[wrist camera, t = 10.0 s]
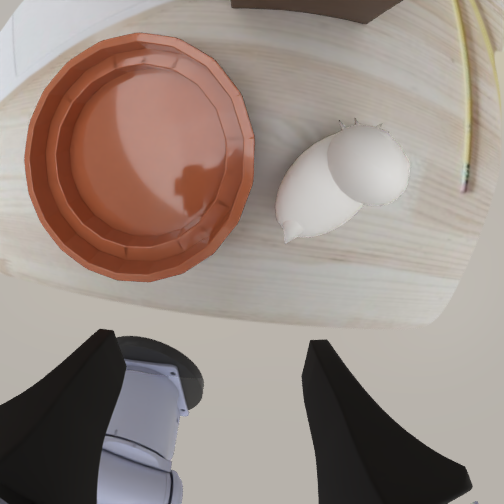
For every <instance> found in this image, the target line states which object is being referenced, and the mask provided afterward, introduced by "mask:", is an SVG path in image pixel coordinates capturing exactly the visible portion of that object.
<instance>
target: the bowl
mask: <svg viewBox="0 0 504 504" xmlns="http://www.w3.org/2000/svg"><path fill="white" fill-rule="evenodd" d="M254 150H255V138H254V133H253V129H252V126H251V123H250V119H249V116H248V113H247V110H246V106H245V103H244V100H243V97H242V95H241V93H240V91H239V90H238V89H237V87H236V86H235V85H234V83H233V82H232V81H231V79H230V78H229V77H228V75H227V74H226V73H225V72H224V70H223V69H222V68H221V67H220V65H219V64H218V63H217V62H216V60H214V59H213V58H212V57H210V56H209V55H207V54H205V53H204V52H202V51H200V50H199V49H197V48H195V47H193V46H192V45H190V44H188V43H186V42H185V41H183V40H181V39H178V38H175V37H169V36H162V35H155V34H148V33H133V34H128V35H124V36H119V37H115V38H111V39H107V40H103V41H101V42H98V43H96V44H95V45H93V46H91V47H90V48H88V49H87V50H85V51H83V52H82V53H80V54H79V55H77V56H76V57H74V58H73V59H71V60H70V61H68V62H67V63H66V64H65V65H64V67H63V68H62V69H61V70H60V71H59V72H58V74H57V75H56V76H55V77H54V78H53V79H52V81H51V82H50V83H49V84H48V86H47V87H46V88H45V89H44V91H43V93H42V95H41V97H40V99H39V102H38V104H37V106H36V108H35V111H34V113H33V116H32V118H31V120H30V124H29V128H28V134H27V141H26V148H25V157H24V158H25V159H24V161H25V171H26V179H27V186H28V192H29V195H30V198H31V201H32V203H33V206H34V208H35V210H36V213H37V215H38V218H39V220H40V222H41V223H42V225H43V227H44V228H45V229H46V231H47V232H48V233H49V235H50V236H51V237H52V239H53V240H54V241H55V243H56V244H57V245H58V246H59V248H60V249H61V250H62V251H64V252H65V253H66V254H67V255H69V256H70V257H71V258H73V259H74V260H75V261H77V262H78V263H79V264H81V265H82V266H84V267H85V268H87V269H88V270H91V271H94V272H96V273H99V274H102V275H104V276H107V277H110V278H112V279H115V280H120V281H137V282H152V281H156V280H160V279H164V278H168V277H172V276H175V275H179V274H182V273H184V272H186V271H188V270H189V269H191V268H192V267H194V266H195V265H197V264H198V263H200V262H201V261H203V260H205V259H206V258H208V257H209V256H211V255H212V254H213V253H215V251H216V250H217V249H218V248H219V246H220V245H221V244H222V242H223V241H224V240H225V239H226V237H227V236H228V235H229V234H230V232H231V231H232V230H233V229H234V227H235V226H236V225H237V224H238V222H239V220H240V217H241V214H242V212H243V209H244V206H245V203H246V201H247V198H248V195H249V193H250V190H251V187H252V185H253V178H254Z"/></svg>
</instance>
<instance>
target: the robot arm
mask: <svg viewBox="0 0 504 504" xmlns="http://www.w3.org/2000/svg"><path fill="white" fill-rule="evenodd" d="M302 386H303V396H304V403H305V408H306V412H307V417H308V422H309V426H310V431H311V435H312V440H313V445H314V450H315V456H316V465H317V478H318V494H319V495H318V496H319V504H447V503H449V502H451V501H453V500H455V499H456V498H458V497H460V496H462V495H463V494H465V493H467V492H468V491H470V490H471V489H472V483H471V480H470V478H469V475H468V472H467V470H466V468H465V466H462V465H460V464H458V463H456V462H454V461H452V460H450V459H448V458H446V457H444V456H442V455H441V454H439V453H437V452H435V451H434V450H432V449H431V448H429V447H427V446H426V445H425V444H423V443H422V442H420V441H419V440H418V439H416V438H415V437H414V436H412V435H411V434H410V433H408V432H407V431H406V430H404V429H403V428H402V427H401V426H400V425H399V424H398V423H396V422H395V421H394V420H393V419H392V418H391V417H390V416H389V415H388V414H387V413H386V412H385V411H384V410H382V408H381V407H380V406H379V405H378V404H377V403H376V402H375V401H374V400H373V399H372V398H371V396H370V395H369V394H368V393H367V392H366V391H365V389H364V388H363V387H362V386H361V385H360V383H359V382H358V381H357V380H356V378H355V377H354V376H353V375H352V373H351V372H350V371H349V369H348V368H347V367H346V365H345V364H344V363H343V361H342V360H341V358H340V357H339V356H338V354H337V353H336V351H335V350H334V349H333V347H332V346H331V344H330V343H329V341H328V340H310V343H309V348H308V352H307V357H306V360H305V365H304V369H303V373H302ZM188 415H189V411H188V407H187V404H186V400H185V396H184V392H183V388H182V384H181V380H180V376H179V371H178V368H177V366H175V365H172V364H162V363H153V362H145V361H138V360H130V359H124V358H123V356H122V353H121V350H120V348H119V345H118V342H117V339H116V337H115V334H114V331H113V330H106V329H99V330H98V331H97V332H95V333H94V334H93V335H92V336H91V337H90V338H89V339H88V340H86V341H85V342H84V343H83V344H82V345H81V346H80V347H79V348H78V349H76V350H75V351H74V352H73V353H72V354H71V355H70V356H69V357H67V358H66V359H65V360H64V361H63V362H62V363H61V364H60V365H58V366H57V367H56V368H55V369H54V370H52V371H51V372H50V373H49V374H47V375H46V376H45V377H44V378H43V379H41V380H40V381H39V382H37V383H36V384H35V385H33V386H32V387H30V388H29V389H27V390H26V391H24V392H23V393H21V394H20V395H18V396H16V397H14V398H13V399H11V400H9V401H7V402H6V403H4V404H2V405H0V504H181V503H182V496H183V486H182V481H181V479H180V477H179V476H178V474H177V472H176V471H174V470H171V465H172V461H170V460H171V459H172V457H173V454H174V449H175V443H176V437H177V431H178V425H179V419H180V416H188ZM471 504H478V502H477V501H475V502H473V503H471Z"/></svg>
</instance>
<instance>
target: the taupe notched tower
mask: <svg viewBox="0 0 504 504" xmlns="http://www.w3.org/2000/svg"><path fill="white" fill-rule="evenodd" d="M401 1H403V0H231V6H232V8H263V9H278V10H289V11H298V12H306V13H313V14H320V15H326V16H331V17H336V18H341V19H346V20H351V21H355V22H359V23H363V24H367V23H369V22H370V21H372V20H373V19H375V18H376V17H378V16H379V15H381V14H382V13H384V12H385V11H387V10H388V9H390V8H392V7H393V6H395V5H396V4H398V3H400V2H401Z"/></svg>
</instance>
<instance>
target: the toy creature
mask: <svg viewBox="0 0 504 504" xmlns="http://www.w3.org/2000/svg"><path fill="white" fill-rule="evenodd" d="M339 122H340V126H341V131H340V132H338V133H337V134H333V135H330V136H328V137H326V138H324V139H322V140H320V141H318V142H316V143H315V144H313V145H312V146H311V147H310V148H308V149H307V150H306V151H305V152H304V153H302V154H301V155H300V156H299V157H298V158H297V160H296V161H295V162H294V163H293V165H292V166H291V167H290V168H289V170H288V171H287V172H286V174H285V176H284V178H283V180H282V182H281V184H280V186H279V188H278V193H277V198H276V202H275V211H276V218H277V221H278V222H279V224H280V225H281V227H282V229H283V230H284V239H285V244H286V243H288V242H289V241H291V240H293V239H294V238H296V237H309V238H311V237H315V236H319V235H323V234H326V233H328V232H330V231H332V230H334V229H336V228H338V227H340V226H342V225H343V224H344V223H346V222H347V221H348V220H349V219H351V218H352V217H353V216H354V215H355V214H357V212H358V211H359V210H360V209H361V208H362V207H363V205H364V204H365V205H371V206H382V205H386V204H389V203H392V202H394V201H395V200H396V199H398V198H399V197H400V196H401V195H402V194H403V192H404V191H405V189H406V187H407V184H408V181H409V172H410V169H411V165H410V161H409V159H408V157H407V156H406V155H405V153H404V151H403V149H402V147H401V146H400V144H399V143H398V142H397V141H396V140H395V139H394V138H393V137H392V136H391V135H390V134H389V132H387V131H385V130H383V129H380V127H381V125H382V124H383V123H382V124H380V125H378V126H376V127H374V126H368V125H361V124H359V123H358V121H357V120H356V118H355V125H353V126H349V127H346V126H345V125H344V124H343V123H342V122H341V121H340V120H339Z"/></svg>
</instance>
